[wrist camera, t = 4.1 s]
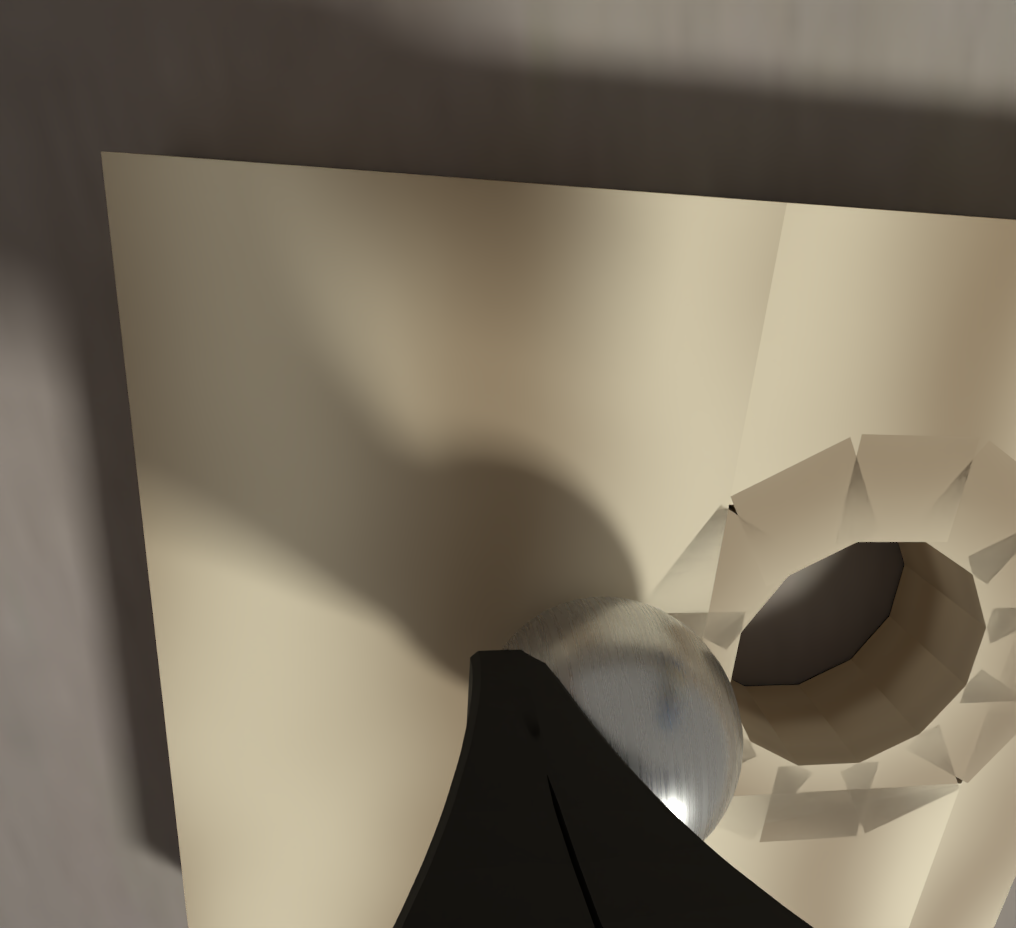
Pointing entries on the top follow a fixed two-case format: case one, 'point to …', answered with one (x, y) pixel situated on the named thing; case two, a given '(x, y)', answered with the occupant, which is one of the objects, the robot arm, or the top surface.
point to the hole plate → (562, 509)
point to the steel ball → (648, 698)
